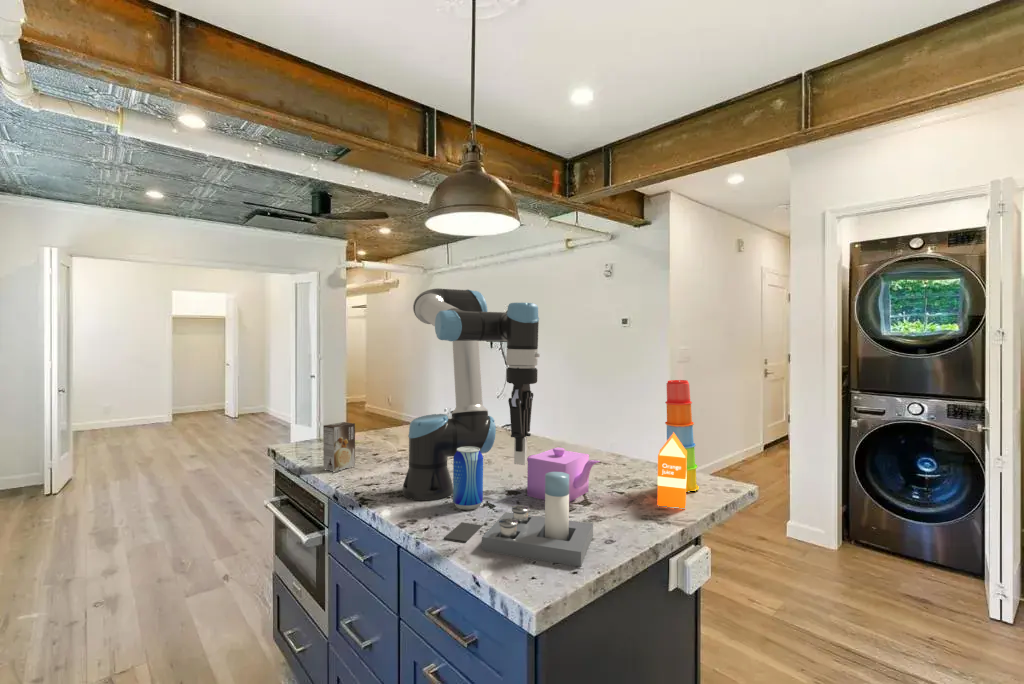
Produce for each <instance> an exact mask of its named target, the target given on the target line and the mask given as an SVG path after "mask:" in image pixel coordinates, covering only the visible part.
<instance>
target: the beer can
mask: <svg viewBox="0 0 1024 684" xmlns="http://www.w3.org/2000/svg"><path fill="white" fill-rule="evenodd" d="M452 457H453V458H452V459H453V460H452V462H453V463H452V464H453V469H452V474H453V475H452V479H453V480H452V484H453V492H452V502H453V504H454V505H455V507H456V508H457V509H460V510H475V509H477V508H478V509H479V507H481V504H482V503H483V502H484V495H483V494H484V455H483V453H481V452H480V448H478V447H472V446H466V447H460V448H457V452H456V454H455V455H454V456H452Z"/></svg>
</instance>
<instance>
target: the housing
mask: <svg viewBox="0 0 1024 684" xmlns="http://www.w3.org/2000/svg"><path fill="white" fill-rule="evenodd" d="M505 518H511V519H513V512H510V511H509V512H508V511H506V512H504V513H503V515H501V516H500V517H499V518H498V519H497V520H496V521H495V523H494V524H492V526H491V527H490V528H488V530H487V531H486V532H485V533H484V534H483V535H482V536H481V552H486V553H487V552H488V553H494V554H500V555H506V556H511V557H517V558H518V557H519V558H522V559H523V558H526V559H528V560H529V559H532V560H535V561H536V560H537V561H541V562H542V561H543V562H548V563H554V564H561V565H568V566H573V567H578V568H579V567H582V566H583V563H584V560H585V557H586V556H587V553H588V550H589V547H590V545H591V542H592V540H593V537H594V523H592V522H591V523H590V522H584V521H576V520H569V541H564V540H557V539H550V538H545V516H537V515H531V514H530V515H529V514H528V523H527V524H522V523H518V525H517V530H516V538H515V539H510V538H503V537H500V525H499V521H500V520H501V519H505Z"/></svg>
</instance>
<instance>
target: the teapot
mask: <svg viewBox="0 0 1024 684" xmlns="http://www.w3.org/2000/svg"><path fill="white" fill-rule="evenodd" d="M598 463H601V461H600V460H596V459H594V460H593V459H591V460H590V455H589V454H588V453H583V452H576V451H570V450H566V449H565V448H564V447H554V448H551V449H547V450H546V451H542V452H539V453H537V454H531V455H529V456H527V477H526V478H527V479H526V480H527V481H526V483H527V484H526V485H527V492H526V496H527V497H531V498H535V499H537V500H543V501H545V474H546V473H549V472H564V473H567V474H569V503H570V502H572V501H574V500H576V499H577V498H580V497H582V496H583V495H586V493H589V487H590V486H589V483H590V482H589V479H590V474H591V470H592V467H594V465H595V464H598Z"/></svg>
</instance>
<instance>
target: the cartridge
mask: <svg viewBox="0 0 1024 684" xmlns="http://www.w3.org/2000/svg"><path fill="white" fill-rule="evenodd" d="M569 516H570V502H569V474H567V473H564V472H549V473H546V474H545V500H544V517H545V538H550V539H557V540H564V541H569V521H570V517H569Z"/></svg>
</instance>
